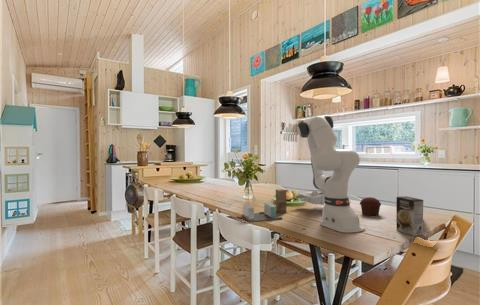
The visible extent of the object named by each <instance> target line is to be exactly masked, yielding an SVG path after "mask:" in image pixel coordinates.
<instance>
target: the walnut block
mask: <svg viewBox="0 0 480 305" xmlns="http://www.w3.org/2000/svg"><path fill="white" fill-rule="evenodd" d="M275 206H276V213H278V214H287V190H286V189H283V188H281V189H280V188H279V189H275Z"/></svg>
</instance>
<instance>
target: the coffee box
mask: <svg viewBox="0 0 480 305" xmlns="http://www.w3.org/2000/svg"><path fill="white" fill-rule="evenodd" d="M396 231H397V232H402V233H404V234H406V235H410V236H413V237H415V236H421V235H424V199H421V198H417V197H416V198H415V197H412V196H411V197H410V196H405V195H404V196H397V197H396Z"/></svg>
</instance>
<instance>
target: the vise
mask: <svg viewBox="0 0 480 305" xmlns="http://www.w3.org/2000/svg"><path fill="white" fill-rule="evenodd" d="M242 206H243V207H242V208H243V213H242V214H241V216H242V217H243V218H244V219H245V220H246V221H247V222H248V223H253V222H255V223H256V222H265V221H277V220H278V221H279V220H283V217H282V216H280V217H277V216H276V218H271V217H268V218H266V216H264V214H265V213H264V211H259V212H256V213H255V208H254V207H253V206H252V205H250V204H249V203H244V204H242ZM265 215H266V214H265Z"/></svg>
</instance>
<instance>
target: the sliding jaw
mask: <svg viewBox="0 0 480 305" xmlns="http://www.w3.org/2000/svg"><path fill="white" fill-rule="evenodd" d="M263 210H264V211H263V212H264V213H265V215H267V216H268V218H277V212H276V205H274V204H272V203H271V202H264V204H263Z"/></svg>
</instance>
